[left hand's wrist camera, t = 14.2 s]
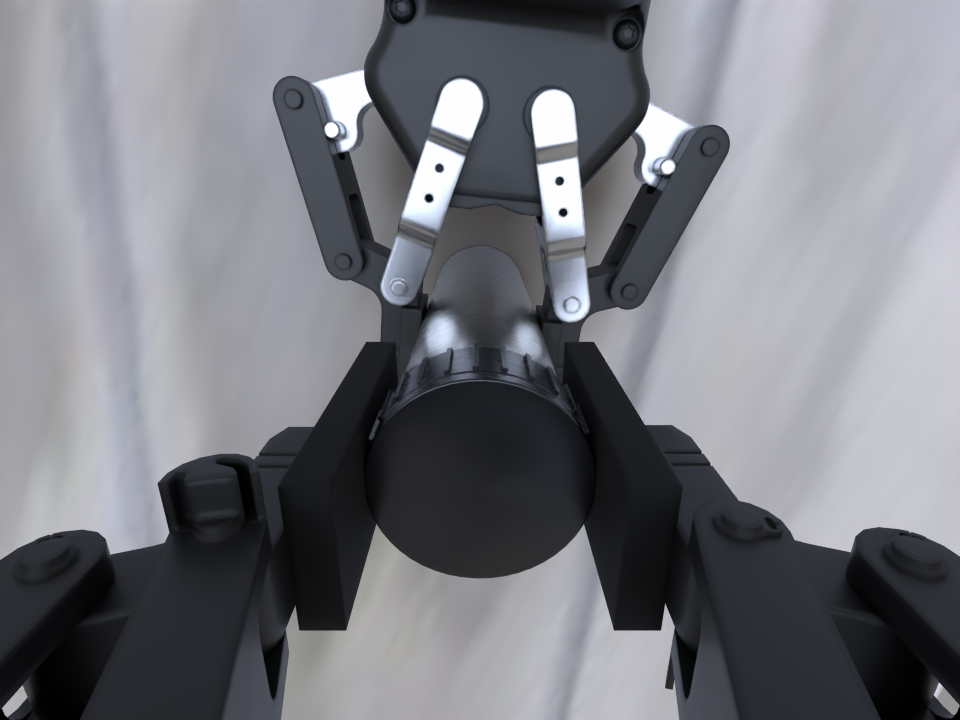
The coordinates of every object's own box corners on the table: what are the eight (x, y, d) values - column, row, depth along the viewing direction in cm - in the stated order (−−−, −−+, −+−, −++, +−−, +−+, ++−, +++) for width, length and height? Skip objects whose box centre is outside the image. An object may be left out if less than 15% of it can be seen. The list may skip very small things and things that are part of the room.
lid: (336, 453, 12) (312, 501, 10) (464, 297, 11) (461, 323, 9) (492, 557, 13) (494, 617, 11) (627, 427, 12) (651, 471, 10)
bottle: (419, 294, 25) (335, 486, 11) (473, 226, 24) (464, 335, 10) (485, 346, 26) (493, 588, 12) (541, 283, 25) (627, 461, 10)
